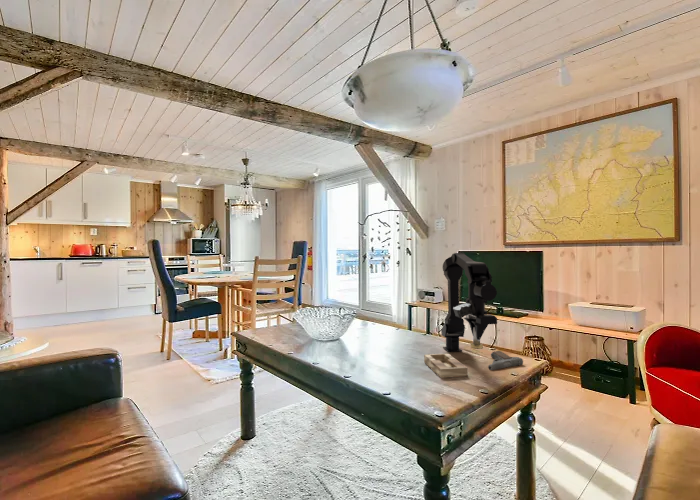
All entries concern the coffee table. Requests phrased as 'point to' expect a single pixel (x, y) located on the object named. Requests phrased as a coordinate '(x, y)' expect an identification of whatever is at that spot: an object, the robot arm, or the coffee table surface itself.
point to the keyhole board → (445, 365)
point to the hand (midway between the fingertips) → (476, 338)
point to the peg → (475, 341)
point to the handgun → (503, 360)
